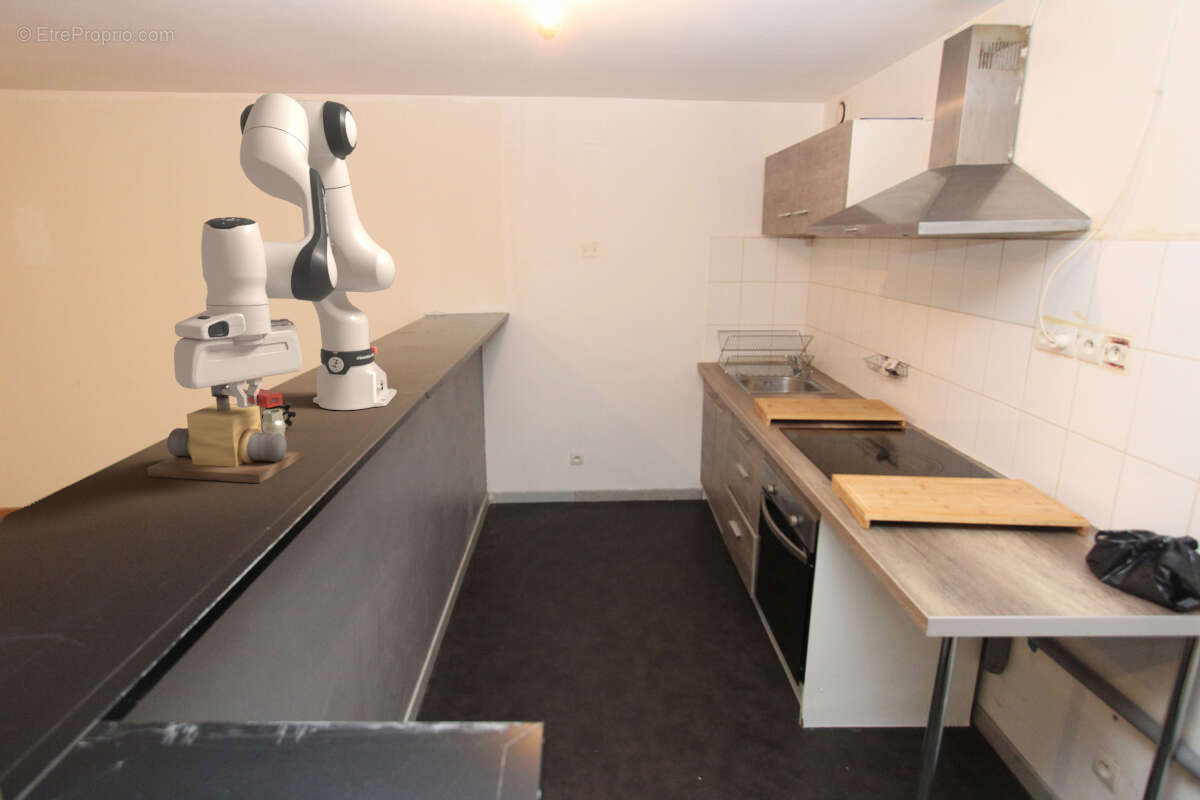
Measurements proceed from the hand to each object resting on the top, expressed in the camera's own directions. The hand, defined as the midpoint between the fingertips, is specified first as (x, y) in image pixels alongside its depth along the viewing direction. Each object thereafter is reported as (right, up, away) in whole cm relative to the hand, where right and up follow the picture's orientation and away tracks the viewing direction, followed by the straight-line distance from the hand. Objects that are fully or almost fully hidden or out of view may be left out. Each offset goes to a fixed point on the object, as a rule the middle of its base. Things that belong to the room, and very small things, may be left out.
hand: (247, 406), depth 105 cm
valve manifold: (-9, -11, +10) cm, 17 cm away
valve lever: (-3, +1, +4) cm, 5 cm away
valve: (-9, -7, +28) cm, 30 cm away
